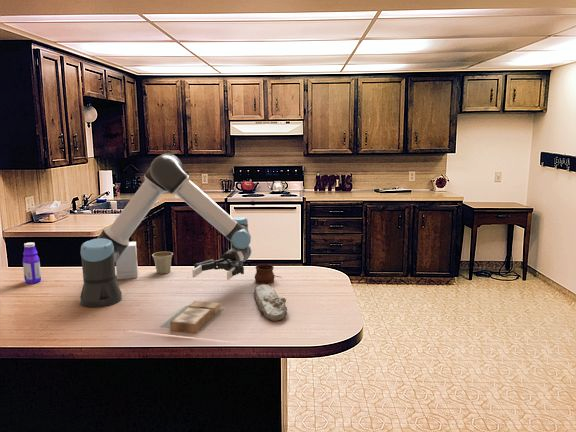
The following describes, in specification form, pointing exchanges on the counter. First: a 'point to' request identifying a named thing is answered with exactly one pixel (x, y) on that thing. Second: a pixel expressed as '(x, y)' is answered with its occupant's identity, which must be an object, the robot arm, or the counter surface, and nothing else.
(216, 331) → the counter surface
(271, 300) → the elongated rock
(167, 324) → the mat
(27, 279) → the bottle
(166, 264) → the flower pot
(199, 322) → the slab
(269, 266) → the ceramic pot
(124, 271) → the supplement box
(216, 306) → the tan wooden block
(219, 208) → the robot arm
